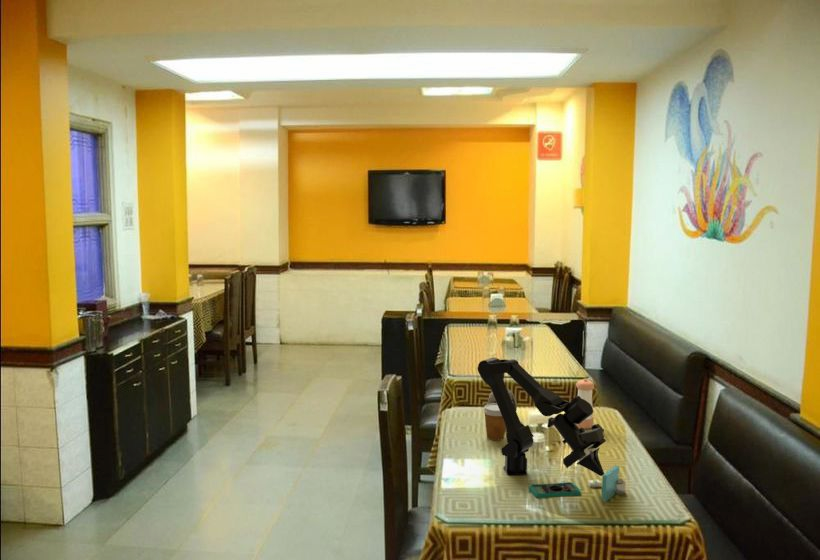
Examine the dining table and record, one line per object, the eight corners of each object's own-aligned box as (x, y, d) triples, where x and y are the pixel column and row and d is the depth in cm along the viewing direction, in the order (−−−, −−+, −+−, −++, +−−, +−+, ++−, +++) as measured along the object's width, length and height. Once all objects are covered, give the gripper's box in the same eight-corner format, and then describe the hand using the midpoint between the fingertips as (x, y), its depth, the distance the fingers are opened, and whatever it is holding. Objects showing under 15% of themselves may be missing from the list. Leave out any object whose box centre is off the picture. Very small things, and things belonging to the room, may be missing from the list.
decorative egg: (508, 429, 259) (509, 392, 257) (482, 424, 265) (482, 387, 263) (521, 421, 268) (521, 385, 266) (494, 416, 275) (495, 381, 273)
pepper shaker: (595, 428, 260) (597, 381, 257) (576, 428, 260) (578, 381, 257) (590, 422, 267) (592, 376, 264) (572, 422, 267) (574, 376, 265)
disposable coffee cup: (512, 436, 252) (512, 405, 250) (501, 443, 244) (502, 412, 242) (489, 431, 257) (489, 401, 255) (478, 438, 249) (478, 408, 247)
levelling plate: (601, 506, 195) (602, 493, 194) (586, 486, 208) (586, 474, 207) (634, 505, 195) (635, 492, 195) (616, 485, 209) (617, 473, 208)
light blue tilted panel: (613, 486, 205) (614, 460, 204) (627, 490, 202) (628, 464, 201) (596, 500, 196) (597, 473, 195) (610, 505, 193) (611, 477, 192)
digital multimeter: (582, 500, 200) (583, 490, 200) (535, 503, 198) (535, 494, 197) (573, 489, 207) (573, 480, 207) (527, 492, 205) (528, 483, 205)
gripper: (573, 425, 192) (608, 471, 187) (600, 410, 207) (634, 452, 201) (548, 445, 198) (581, 490, 193) (576, 428, 213) (608, 470, 207)
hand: (602, 475), depth 198 cm, fingers closed
